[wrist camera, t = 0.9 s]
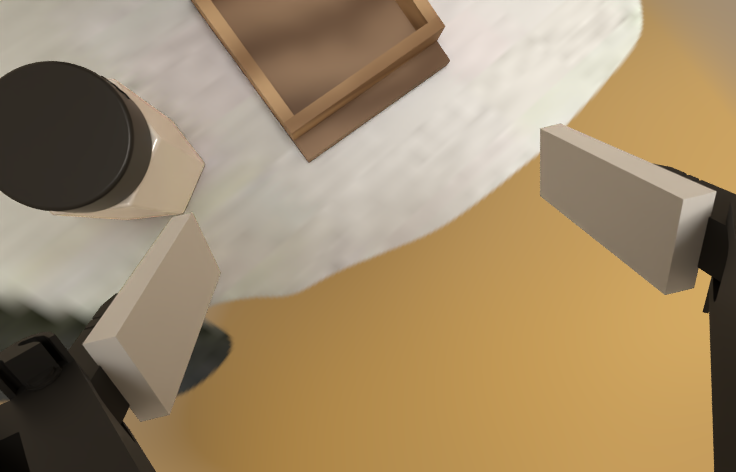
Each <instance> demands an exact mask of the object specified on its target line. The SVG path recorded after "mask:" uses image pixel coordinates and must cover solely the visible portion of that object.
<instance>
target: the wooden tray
mask: <svg viewBox="0 0 736 472" xmlns="http://www.w3.org/2000/svg"><path fill="white" fill-rule="evenodd" d="M191 1H192V3H193V4H194V5H195V7H196V8H197V10H198V11H199V12H200V14H201V15H202V17H203V18H204V19H205V21H206V22H207V23H208V25H209V26H210V28H211V29H212V30H213V32H214V33H215V34H216V36H217V37H218V39H219V40H220V41H221V43H222V44H223V45H224V47H225V48H226V50H227V51H228V52H229V54H230V55H231V56H232V58H233V59H234V61H235V62H236V63H237V65H238V66H239V67H240V69H241V70H242V72H243V73H244V74H245V76H246V77H247V78H248V80H249V81H250V83H251V84H252V85H253V87H254V88H255V89H256V91H257V92H258V94H259V95H260V96H261V98H262V99H263V100H264V102H265V103H266V105H267V106H268V107H269V109H270V110H271V111H272V113H273V114H274V116H275V117H276V118H277V120H278V121H279V122H280V124H281V125H282V127H283V128H284V129H285V131H286V132H287V133H288V135H289V136H290V138H291V139H292V140H293V142H294V143H295V144H296V146H297V147H298V149H299V150H300V151H301V153H302V154H303V155H304V157H305V158H306V160H307V161H308V162H310V161H312V160H313V159H315V158H316V157H318V156H319V155H320V154H322V153H323V152H325V151H326V150H327V149H329V148H330V147H332V146H333V145H335V144H336V143H337V142H339V141H340V140H342V139H343V138H344V137H346V136H347V135H349V134H350V133H351V132H353V131H354V130H356V129H357V128H359V127H360V126H361V125H363V124H364V123H366V122H367V121H368V120H370V119H371V118H373V117H374V116H376V115H377V114H378V113H380V112H381V111H383V110H384V109H385V108H387V107H388V106H390V105H391V104H393V103H394V102H395V101H397V100H398V99H400V98H401V97H402V96H404V95H405V94H407V93H408V92H410V91H411V90H412V89H414V88H415V87H417V86H418V85H419V84H421V83H422V82H424V81H425V80H426V79H428V78H429V77H431V76H432V75H434V74H435V73H436V72H438V71H439V70H441V69H442V68H443V67H445V66H446V65H447V64H448V63H449V61H450V60H449V58H448V57H447V55H446V54H445V52H444V51H443V49H442V48H441V46H440V45H439V43H438V42H437V40H438V38H439V36H440V35H441V33H442V31H443V29H444V28H445V25H444V24H443V22H442V21H441V19H440V18H439V17H438V15H437V14H436V12H435V11H434V9H433V8H432V6H431V5H430V3H429V2H428V0H191Z"/></svg>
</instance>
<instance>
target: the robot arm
mask: <svg viewBox="0 0 736 472" xmlns="http://www.w3.org/2000/svg"><path fill="white" fill-rule="evenodd" d="M540 196H541V197H542V198H543V199H545V200H546V201H547V202H549V203H550V204H551V205H553V206H554V207H555V208H556V209H557V210H559V211H560V212H561V213H562V214H564V215H565V216H566V217H567V218H569V219H570V220H571V221H572V222H574V223H575V224H576V225H578V226H579V227H580V228H581V229H583V230H584V231H585V232H586V233H588V234H589V235H590V236H591V237H593V238H594V239H595V240H596V241H598V242H599V243H600V244H601V245H603V246H604V247H605V248H606V249H608V250H609V251H610V252H612V253H613V254H614V255H615V256H617V257H618V258H619V259H620V260H622V261H623V262H624V263H626V264H627V265H628V266H629V267H631V268H632V269H633V270H634V271H635V272H637V273H638V274H639V275H641V276H642V277H643V278H644V279H646V280H647V281H648V282H649V283H651V284H652V285H653V286H654V287H656V288H657V289H658V290H659V291H661V292H662V293H663V294H665V295H667V294H671V293H676V292H680V291H683V290H688V289H692V288H694V285H695V281H696V277H697V273H698V268H700V269H701V270H703V271H705V272H706V273H707V274H709V275H711V276H712V277H711V281H710V285H709V289H708V293H707V297H706V301H705V305H704V309H703V312H704V313H709V319H710V351H711V381H712V414H713V446H714V472H736V194H734V193H731V192H729V191H727V190H724V189H722V188H719V187H717V186H715V185H712V184H710V183H707V182H705V181H703V180H701V181H699V179H698V178H696V177H693V176H691V175H687V174H686V173H684V172H681V171H679V170H677V169H674V168H672V167H668V166H662V165H657V164H652V163H650V162H647V161H645V160H643V159H641V158H638V157H636V156H634V155H632V154H629V153H627V152H625V151H622V150H620V149H618V148H615V147H613V146H610V145H608V144H606V143H604V142H602V141H599V140H597V139H595V138H592V137H590V136H588V135H586V134H583V133H581V132H579V131H576V130H574V129H572V128H569V127H567V126H565V125H563V124H557V125H553V126H549V127H544V128H540ZM220 274H221V272H220V270H219V268H218V265H217V263H216V261H215V259H214V257H213V255H212V253H211V250H210V248H209V246H208V244H207V242H206V240H205V238H204V236H203V233H202V231H201V229H200V227H199V225H198V223H197V221H196V218H195V216H194V214H193V212H191V213H186V214H182V215H178V216H174V217H172V218H171V219H170V221H169V222H168V224H167V225H166V226H165V228H164V229H163V231H162V232H161V233H160V235H159V236H158V238H157V239H156V241H155V242H154V243H153V245H152V246H151V248H150V249H149V250H148V252H147V253H146V255H145V256H144V258H143V259H142V260H141V262H140V263H139V265H138V266H137V267H136V269H135V270H134V272H133V273H132V275H131V276H130V277H129V279H128V280H127V282H126V283H125V284H124V286H123V287H122V289H121V290H120V292H119V293H117V294H115V295H114V296H112V297H111V298H110V299H109V300H108V301H106V302H105V303H104V304H103V305H102V306H101V307H100V308H99V310H98V311H97V312H96V314H95V315H94V316H93V320H91V321H90V322H89V323H88V325H87V326H86V327H85V330H83V331H82V333H81V334H80V335H79V337H78V338H77V340H76V341H75V342H74V344H73V345H72V346H71V348H70V349H69V350H67V349H66V348H65V347H64V345H63V344H62V343H61V342H60V340H59V339H58V338H57V336H56V335H55V334H53V333H52V332H41V333H37V334H34V335H31V336H28V337H26V338H24V339H22V340H20V341H18V342H16V343H14V344H13V345H11V346H9V347H8V348H6V349H5V350H3V351H2V352H1V353H0V390H1V391H2V392H3V393H4V394H5V395H6V396H7V397H8V398H9V399H10V401H8V402H6V403H4V404H1V405H0V472H156V471H155V469H154V468H153V466H152V465H151V463H150V461H149V460H148V459H147V457H146V455H145V454H144V452H143V450H142V449H141V447H140V446H139V444H138V442H137V441H136V439H135V438H134V436H133V435H132V433H131V431H130V430H129V429H128V427H127V426H126V424H125V423H124V422H123V419H124V417H125V415H126V412H127V410H128V408H129V407H130V409H131V410H132V411H133V413H134V414H135V415H136V417H137V418H138V419H139V421H140V422H142V421H146V420H150V419H154V418H158V417H163V416H167V415H170V412H171V409H172V406H173V404H174V401H175V398H176V396H177V393H178V390H179V387H180V384H181V382H182V379H183V376H184V373H185V371H186V368H187V365H188V362H189V360H190V357H191V354H192V351H193V349H194V346H195V343H196V340H197V338H198V335H199V332H200V329H201V326H202V324H203V321H204V318H205V315H206V313H207V310H208V307H209V304H210V302H211V299H212V296H213V293H214V291H215V288H216V285H217V282H218V280H219V277H220Z"/></svg>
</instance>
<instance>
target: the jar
mask: <svg viewBox="0 0 736 472" xmlns="http://www.w3.org/2000/svg"><path fill="white" fill-rule="evenodd" d="M204 165H205V164H204V162H203V160H202V159H201V158H200V156H199V155H198V154H197V153H196V151H195V150H194V149H193V147H192V146H191V145H190V143H189V142H188V141H187V140H186V138H185V137H184V136H183V134H182V133H181V132H180V130H179V129H178V128H177V127H176V125H175V124H174V123H173V121H172V120H170V119H169V118H168V117H166V116H165V115H164V114H162V113H161V112H159V111H158V110H157V109H155V108H154V107H153V106H151V105H150V104H148V103H147V102H146V101H144V100H143V99H142V98H140V97H139V96H137V95H136V94H135V93H133V92H132V91H131V90H129V89H128V88H126V87H125V86H124V85H122V84H121V83H120V82H118V81H117V80H115V79H112V78H111V79H106V78H104V77H103V76H99V75H98V74H96V73H95V72H93V71H91V70H89V69H86V68H84V67H81V66H78V65H75V64H71V63H66V62H59V61H43V62H36V63H31V64H28V65H25V66H22V67H19V68H17V69H15V70H13V71H11V72H9V73H7V74H6V75H4V76H3V77H1V78H0V191H2V192H3V193H4V194H5V195H7V196H8V197H10V198H11V199H13V200H15V201H17V202H19V203H21V204H23V205H26V206H29V207H32V208H35V209H40V210H45V211H49V212H50V213H51V214H53V215H59V216H75V217H90V218H105V219H120V220H132V219H141V218H150V217H159V216H168V215H176V214H182V213H184V211H185V209H186V206H187V204H188V202H189V200H190V197H191V195H192V193H193V190H194V188H195V186H196V184H197V181H198V179H199V177H200V175H201V172H202V170H203V168H204Z"/></svg>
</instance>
